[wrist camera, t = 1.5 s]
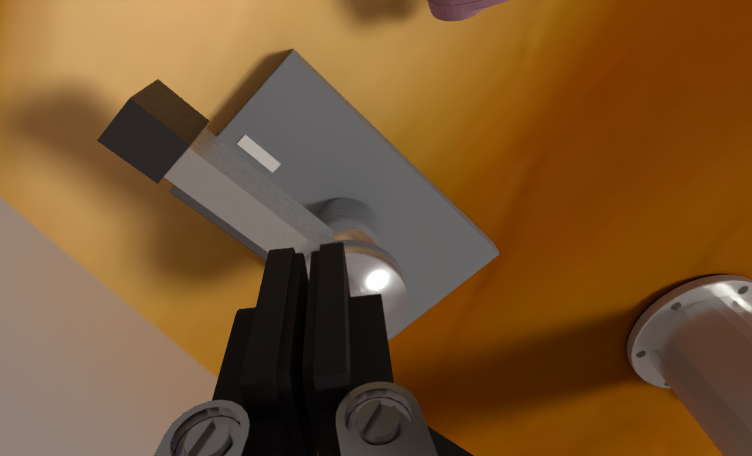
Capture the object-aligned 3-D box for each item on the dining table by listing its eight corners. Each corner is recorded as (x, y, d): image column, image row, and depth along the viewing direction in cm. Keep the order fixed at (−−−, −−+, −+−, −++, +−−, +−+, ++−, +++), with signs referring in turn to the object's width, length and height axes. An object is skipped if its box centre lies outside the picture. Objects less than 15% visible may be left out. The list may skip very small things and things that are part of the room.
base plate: (493, 243, 36) (500, 254, 35) (382, 332, 40) (383, 345, 38) (293, 48, 28) (291, 53, 27) (176, 182, 32) (168, 192, 30)
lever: (411, 225, 33) (433, 303, 25) (347, 280, 35) (350, 368, 27) (200, 37, 26) (146, 70, 18) (135, 120, 28) (62, 179, 20)
